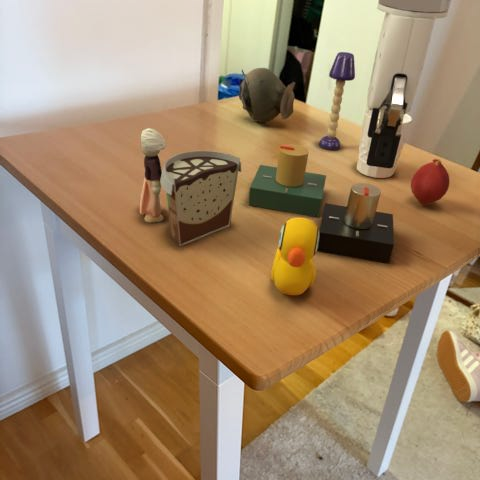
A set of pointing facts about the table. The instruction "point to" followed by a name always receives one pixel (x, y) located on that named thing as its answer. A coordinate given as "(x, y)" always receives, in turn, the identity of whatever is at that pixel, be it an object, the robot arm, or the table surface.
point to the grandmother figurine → (151, 175)
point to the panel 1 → (287, 192)
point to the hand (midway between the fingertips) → (379, 151)
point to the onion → (430, 182)
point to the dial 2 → (362, 205)
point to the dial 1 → (291, 165)
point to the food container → (199, 193)
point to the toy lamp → (338, 96)
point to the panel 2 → (356, 236)
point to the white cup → (365, 144)
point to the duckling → (295, 256)
